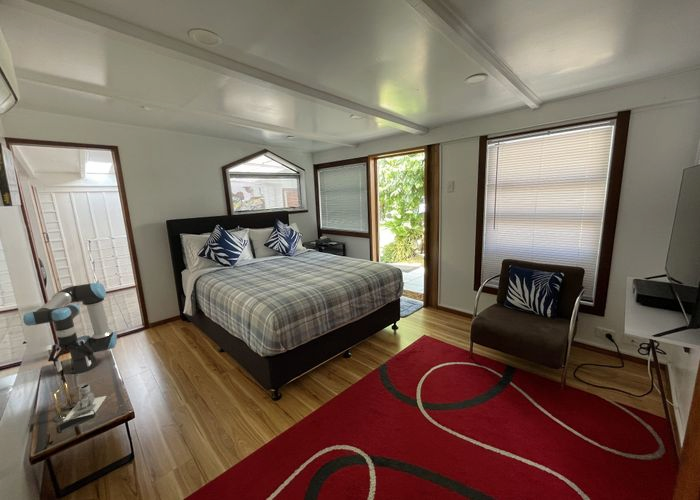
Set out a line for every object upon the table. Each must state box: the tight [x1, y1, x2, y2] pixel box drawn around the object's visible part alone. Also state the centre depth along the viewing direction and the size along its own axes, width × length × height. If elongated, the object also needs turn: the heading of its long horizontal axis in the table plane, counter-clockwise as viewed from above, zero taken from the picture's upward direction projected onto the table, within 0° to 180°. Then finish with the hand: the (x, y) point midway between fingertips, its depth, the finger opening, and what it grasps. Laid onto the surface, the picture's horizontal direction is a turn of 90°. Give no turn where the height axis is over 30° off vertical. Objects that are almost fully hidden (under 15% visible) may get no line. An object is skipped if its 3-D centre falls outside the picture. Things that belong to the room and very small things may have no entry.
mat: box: [62, 395, 107, 423], centre depth 168 cm, size 16×14×1 cm
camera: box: [73, 383, 96, 415], centre depth 167 cm, size 9×12×15 cm
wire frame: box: [52, 381, 77, 422], centre depth 164 cm, size 15×5×16 cm, turn 20°
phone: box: [57, 410, 97, 434], centre depth 159 cm, size 8×1×15 cm
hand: (75, 367), depth 164 cm, fingers open, 13 cm apart
